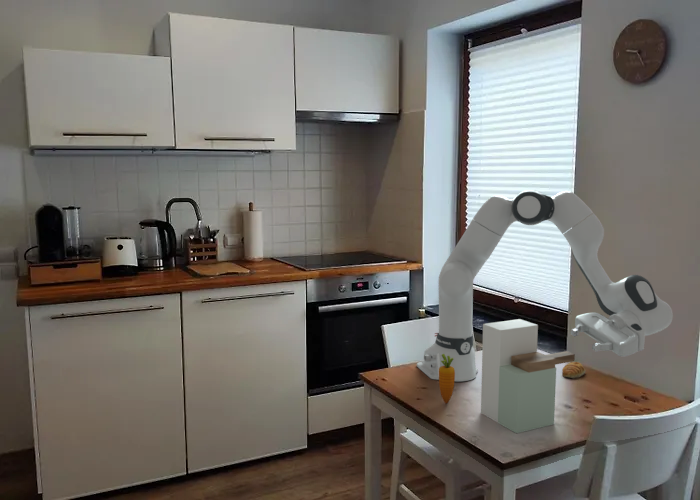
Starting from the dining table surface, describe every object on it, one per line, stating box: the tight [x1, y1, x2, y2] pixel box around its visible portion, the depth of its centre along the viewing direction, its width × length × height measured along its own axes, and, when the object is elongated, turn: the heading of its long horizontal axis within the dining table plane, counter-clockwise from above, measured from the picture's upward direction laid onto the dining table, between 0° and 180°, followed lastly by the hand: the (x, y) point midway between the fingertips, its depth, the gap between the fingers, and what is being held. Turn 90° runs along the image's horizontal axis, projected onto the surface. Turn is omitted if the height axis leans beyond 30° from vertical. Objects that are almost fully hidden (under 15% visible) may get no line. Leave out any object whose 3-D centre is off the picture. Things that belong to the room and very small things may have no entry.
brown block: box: [511, 350, 576, 372], centre depth 164 cm, size 7×18×2 cm, turn 115°
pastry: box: [561, 361, 587, 379], centre depth 203 cm, size 9×7×4 cm
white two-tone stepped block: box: [480, 318, 557, 434], centre depth 165 cm, size 15×13×26 cm
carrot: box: [438, 354, 455, 405], centre depth 177 cm, size 5×5×15 cm
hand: (582, 340), depth 173 cm, fingers open, 8 cm apart
